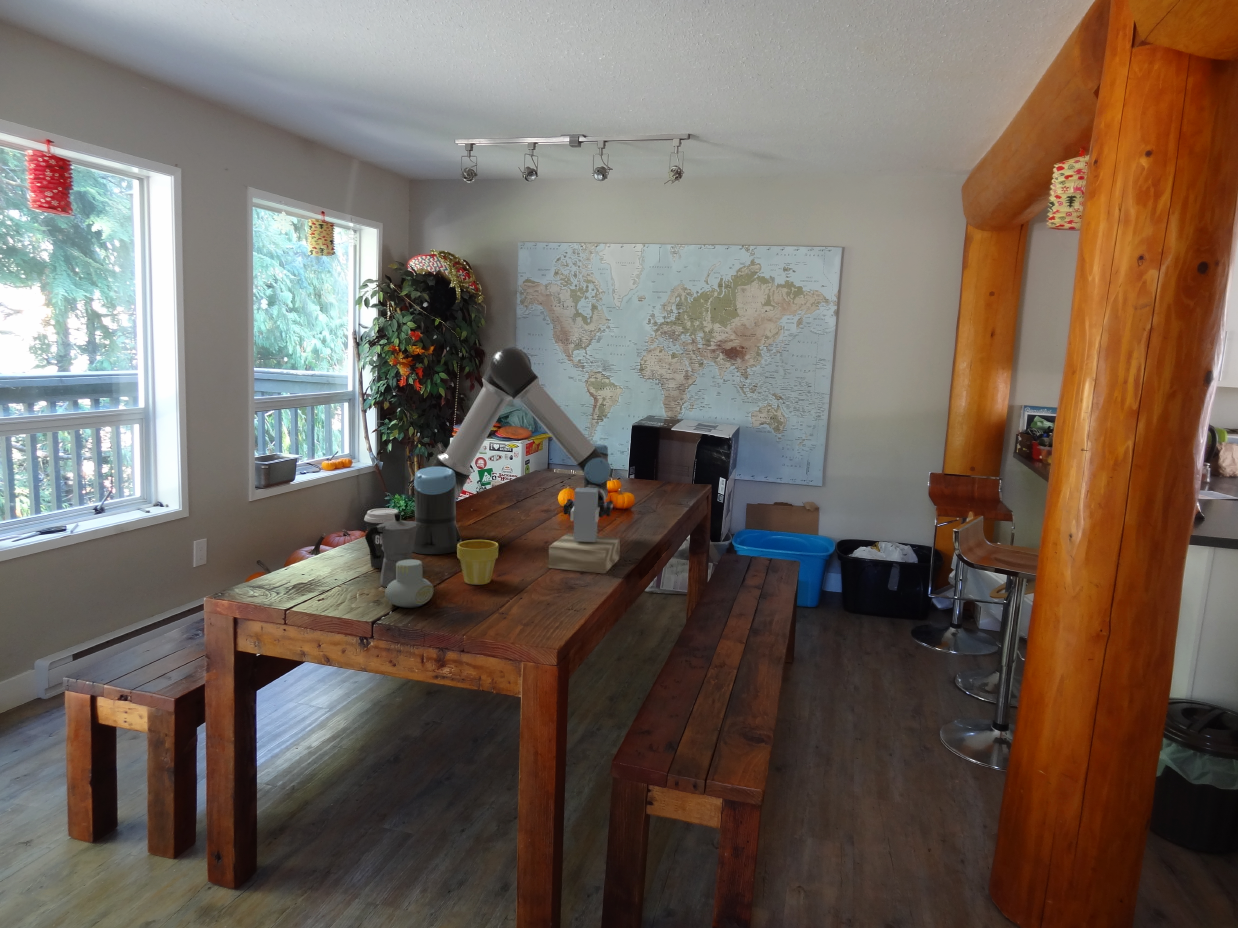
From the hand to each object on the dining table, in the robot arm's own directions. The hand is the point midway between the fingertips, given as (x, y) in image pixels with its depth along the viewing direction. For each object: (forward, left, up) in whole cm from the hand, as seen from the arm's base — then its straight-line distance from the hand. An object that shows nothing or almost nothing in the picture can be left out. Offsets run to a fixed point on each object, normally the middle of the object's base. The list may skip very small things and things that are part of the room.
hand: (584, 516), depth 215 cm
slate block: (+4, +4, -7) cm, 9 cm away
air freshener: (-51, +1, -15) cm, 53 cm away
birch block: (+4, +4, -14) cm, 15 cm away
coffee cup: (-42, +34, -15) cm, 56 cm away
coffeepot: (-47, +17, -15) cm, 52 cm away
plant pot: (-29, +7, -15) cm, 33 cm away
